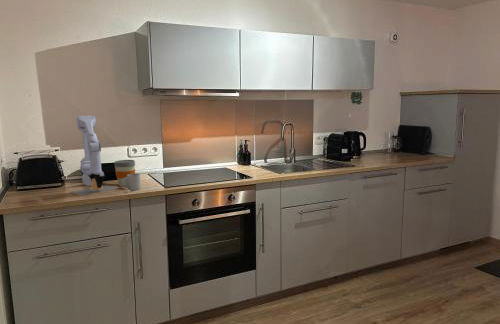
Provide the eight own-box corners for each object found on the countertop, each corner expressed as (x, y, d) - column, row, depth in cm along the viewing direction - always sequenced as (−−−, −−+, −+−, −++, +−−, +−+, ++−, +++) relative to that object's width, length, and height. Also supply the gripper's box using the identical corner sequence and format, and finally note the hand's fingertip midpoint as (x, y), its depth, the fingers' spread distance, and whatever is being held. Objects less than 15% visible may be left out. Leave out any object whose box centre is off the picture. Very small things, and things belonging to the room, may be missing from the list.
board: (70, 194, 210) (69, 186, 209) (107, 187, 226) (106, 180, 225) (80, 198, 201) (80, 190, 200) (118, 190, 216) (118, 183, 216)
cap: (91, 189, 210) (90, 178, 209) (99, 187, 213) (99, 177, 213) (95, 190, 207) (94, 179, 206) (103, 188, 210) (103, 178, 209)
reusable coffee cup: (139, 184, 233) (138, 161, 231) (120, 187, 225) (118, 163, 223) (131, 181, 243) (130, 159, 240) (112, 184, 234) (110, 161, 232)
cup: (141, 190, 218) (140, 175, 217) (123, 191, 214) (122, 176, 213) (140, 187, 225) (139, 173, 223) (123, 189, 221) (121, 174, 220)
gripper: (82, 163, 210) (85, 186, 212) (94, 165, 200) (96, 190, 202) (95, 161, 215) (97, 184, 217) (106, 164, 205) (108, 187, 207)
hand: (97, 187), depth 210 cm, fingers closed on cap, 5 cm apart
